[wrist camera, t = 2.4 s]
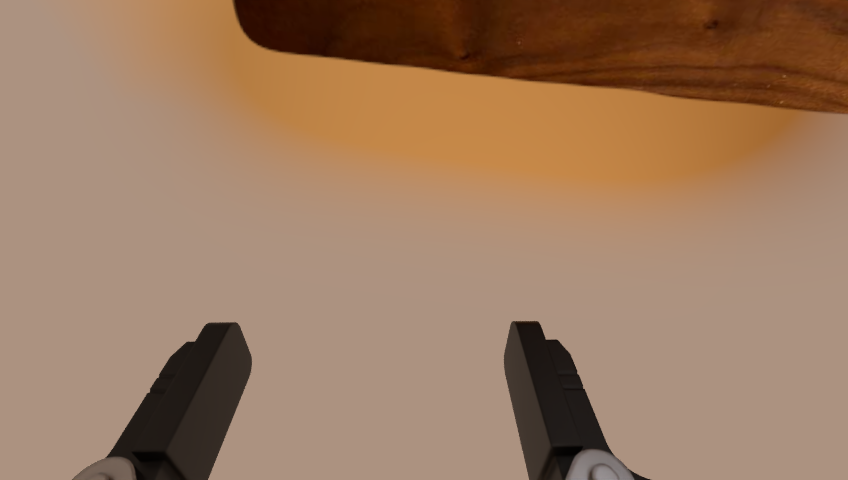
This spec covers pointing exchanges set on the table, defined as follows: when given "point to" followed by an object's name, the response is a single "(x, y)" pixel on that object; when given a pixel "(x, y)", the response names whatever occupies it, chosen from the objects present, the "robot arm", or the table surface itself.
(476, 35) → the table surface
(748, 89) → the table surface
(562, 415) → the robot arm
